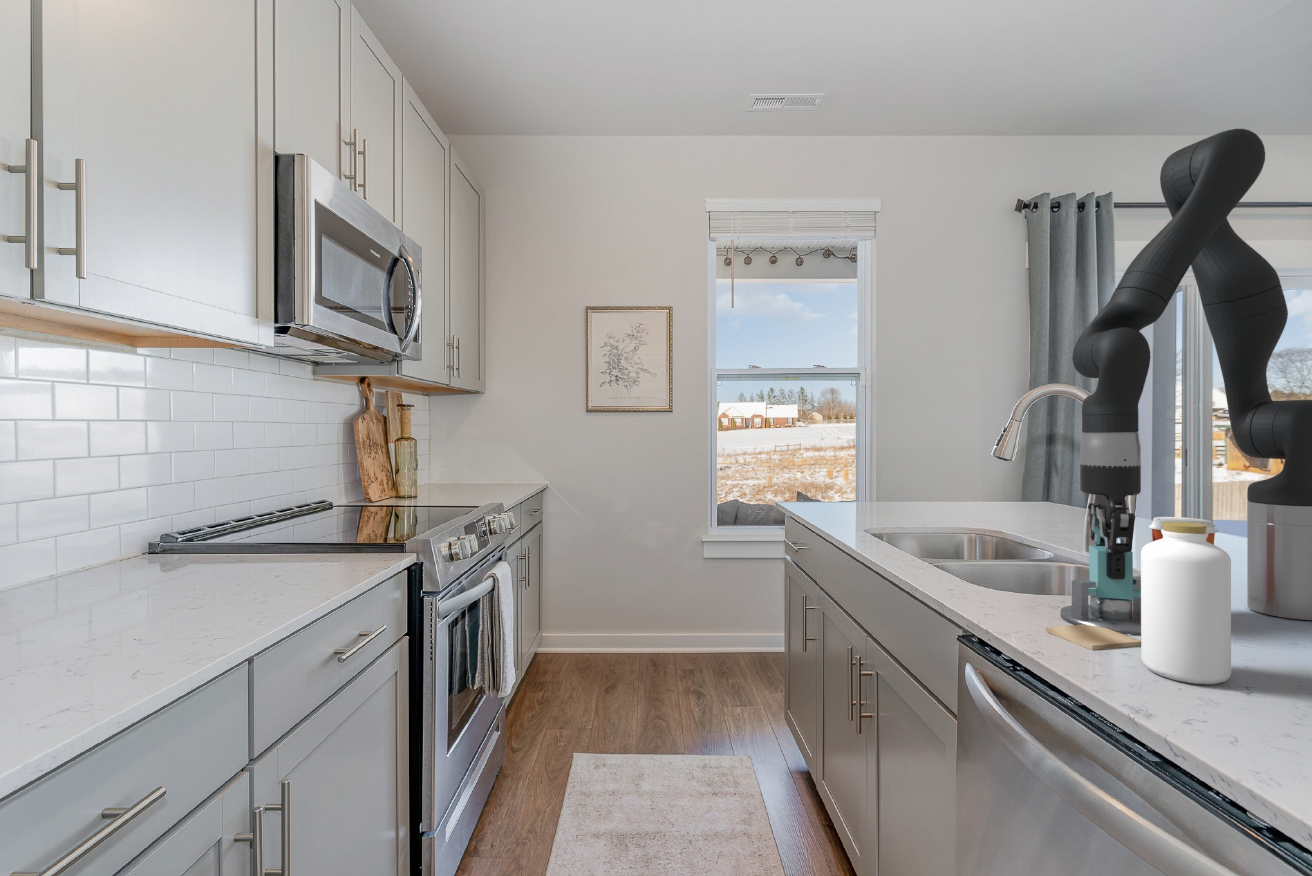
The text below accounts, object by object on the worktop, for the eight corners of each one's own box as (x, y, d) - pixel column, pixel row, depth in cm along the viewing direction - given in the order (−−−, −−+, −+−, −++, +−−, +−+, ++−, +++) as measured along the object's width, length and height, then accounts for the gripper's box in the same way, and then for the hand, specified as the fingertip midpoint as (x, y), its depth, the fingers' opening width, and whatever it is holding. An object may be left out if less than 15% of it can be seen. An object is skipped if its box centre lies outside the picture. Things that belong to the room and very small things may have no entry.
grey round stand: (1110, 607, 106) (1110, 568, 105) (1189, 631, 93) (1189, 587, 93) (1040, 612, 103) (1040, 572, 103) (1111, 638, 90) (1111, 592, 90)
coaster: (1093, 627, 95) (1093, 623, 95) (1143, 645, 87) (1143, 641, 87) (1045, 631, 94) (1045, 627, 94) (1092, 650, 86) (1092, 645, 86)
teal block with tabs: (1140, 593, 99) (1139, 547, 99) (1150, 600, 94) (1150, 553, 94) (1073, 589, 102) (1072, 545, 102) (1080, 596, 98) (1080, 550, 97)
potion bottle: (1142, 656, 83) (1142, 517, 83) (1229, 671, 78) (1229, 522, 78) (1139, 676, 77) (1138, 525, 77) (1233, 694, 72) (1232, 531, 71)
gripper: (1157, 465, 90) (1158, 588, 90) (1123, 460, 103) (1124, 566, 103) (1094, 465, 92) (1095, 584, 93) (1069, 460, 106) (1069, 564, 106)
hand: (1110, 574), depth 98 cm, fingers closed on teal block with tabs, 4 cm apart
